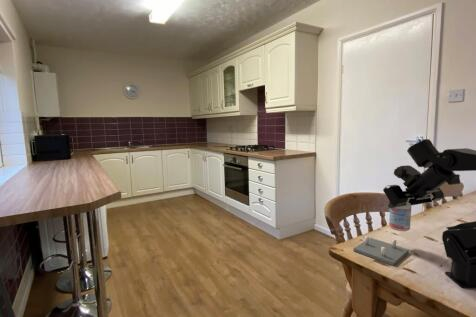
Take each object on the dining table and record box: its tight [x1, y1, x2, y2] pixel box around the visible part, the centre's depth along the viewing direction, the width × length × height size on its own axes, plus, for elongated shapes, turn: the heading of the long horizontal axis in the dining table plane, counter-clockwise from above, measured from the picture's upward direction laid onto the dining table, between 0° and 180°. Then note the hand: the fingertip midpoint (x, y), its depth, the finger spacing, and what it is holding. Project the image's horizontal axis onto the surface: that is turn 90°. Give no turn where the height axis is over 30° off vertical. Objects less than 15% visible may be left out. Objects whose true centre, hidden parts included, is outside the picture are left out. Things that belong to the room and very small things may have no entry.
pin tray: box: [352, 235, 410, 267], centre depth 87 cm, size 12×12×4 cm
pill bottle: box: [388, 199, 412, 232], centre depth 89 cm, size 6×6×11 cm
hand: (396, 206), depth 90 cm, fingers closed on pill bottle, 6 cm apart
